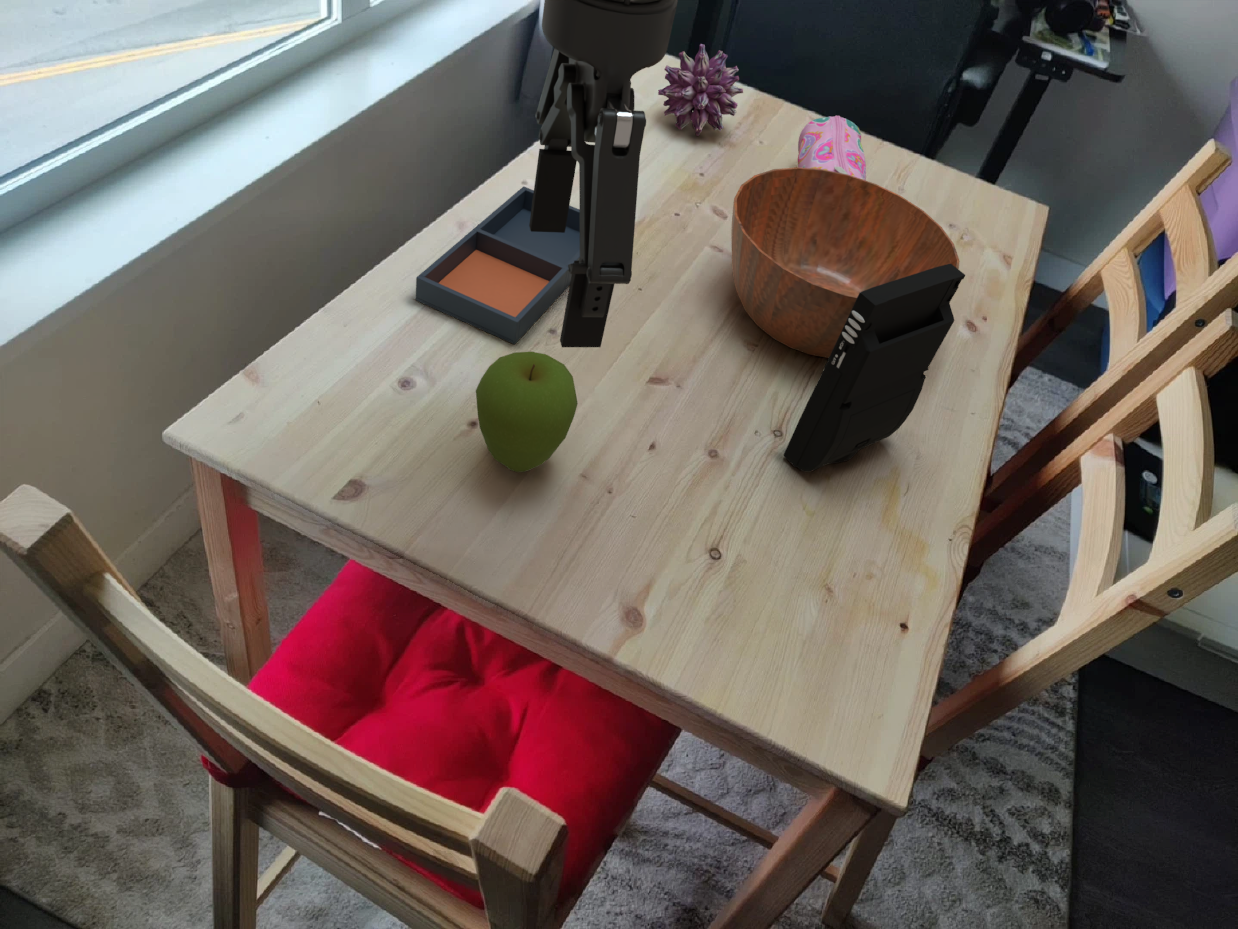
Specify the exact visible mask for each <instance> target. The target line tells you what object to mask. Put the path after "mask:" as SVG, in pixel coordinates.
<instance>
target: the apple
mask: <svg viewBox="0 0 1238 929" xmlns="http://www.w3.org/2000/svg"><path fill="white" fill-rule="evenodd" d="M475 397H476V398H475V399H476V409H477V419H478V425H479V430H480V432H481V434H482V437H483V440H484V442H485V445H486V447H487V450H488V453H489V454H490V455H491V456H492V458H493V459H494V460H495V461H497V462H498V463H500V464H501V465H503V466H505V467H506V468H507V469H509V470H510V471H512V472H514V473H515V472H516V473H525V472H528V471H530V470H533V469H534V468H537V467H539V466H541V465H543V464H544V463H545V462H547V461H548V460H549V459H550V458H551V456H552V455H553V454H554V453H555V452H556V450H557V449H558V448H559V447H560V446H561V444H562V443H563V442H564V440H565V439H566V438H567V435H568V433H569V431H570V428H571V426H572V422H573V420H574V417H575V415H576V412H577V411H576V410H577V408H578V404H579V403H578V398H577V392H576V387H575V381H574V376H573V375H572V373H571V372H570V370H569V369H568V368H567V366H566V365H565V364H564V363H562V362H561V361H559V360H558V359H556V358H554V357H552V356H550V355H548V354H546V353H541V352H535V351H517V352H516V351H515V352H512V353H509V354H506V355H503V356H500V357H498V358H497V359H496V360H495V361H494V362H493V363H491V364H490V365H489V366H488V368H487V369H486V370H485V372H484V374H483V375H482V376H481V377H480V380H479V383H478V385H477V387H476V389H475Z"/></svg>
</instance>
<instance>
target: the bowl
mask: <svg viewBox="0 0 1238 929" xmlns="http://www.w3.org/2000/svg"><path fill="white" fill-rule="evenodd" d="M731 214H732V215H731V228H730V229H731V232H730V233H731V234H730V236H731V238H730V241H731V242H730V243H731V244H730V245H731V246H730V247H731V248H730V249H731V269H732V278H733V283H734V286H735V290H736V293H737V295H738V298H739V300H740V302H741V305H742V307H743V309H744V311H745V312H746V314H747V315H748V316H749V317H750V319H751V320H752V321H753V322H754V323H755V325H756V326H757V327H758V328H760V330H762V331H763V332H765V333H766V334H767V335H768V336H769V337H771V339H774V340H776V341H777V342H778V343H781V344H783V345H785V346H786V347H788V348H790V349H793V350H795V351H798V352H801V353H804V354H807V355H809V356H815V357H819V358H820V357H821V358H826V359H829V357H830V355H831V353H832V350H833V348H834V346H835V344H836V342H837V340H838V338H839V335H840V333H841V331H842V329H843V327H844V325H845V323H846V321H847V318H848V316H849V314H850V312H851V310H852V308H853V306H854V303H855V301H856V299H857V297H858V295H859V293H860V292H862V291H865V290H867V289H870V288H872V287H875V286H878V285H882V284H885V283H888V282H891V281H894V280H897V279H900V278H904V277H907V276H910V275H913V274H916V273H919V272H922V271H925V270H929V269H932V268H935V267H938V266H942V265H946V264H952V265H953V266H955V267H956V268H957V269H958V270H960V262H961V261H960V258H959V254H958V252H957V248H956V245H955V244H954V242H953V241H952V239H951V238H950V236H949V235H948V234H947V232H946V231H945V229H944V228H943V226H941V225H940V224H939V223H938V222H937V221H935V219H933V218H932V217H931V215H929V214H928V213H927V212H926V211H925V210H923V209H922V208H920V207H918V206H917V205H915V204H914V203H912V202H911V201H909V200H908V199H907V198H905V197H904V196H901V195H900V194H898V193H895V192H893V191H892V190H889V189H887V188H885V187H883V186H881V185H879V184H877V183H875V182H872V181H868V180H867V179H866V180H863V179H860V178H857V177H854V176H851V175H847V174H843V173H838V172H833V171H828V170H824V169H813V168H800V167H798V166H795V167H794V166H793V167H784V168H774V169H773V168H772V169H770V170H767V171H764V172H760V173H757V174H754V175H753V176H752V177H750V178H749V179H747V180H746V181H745V182H743V183H742V184H741V185H740V186H739V188H738V190H737V193H735V196H734V198H733V204H732V213H731Z"/></svg>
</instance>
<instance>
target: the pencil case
mask: <svg viewBox="0 0 1238 929" xmlns="http://www.w3.org/2000/svg"><path fill="white" fill-rule="evenodd" d="M797 150H798V154H797V167H800V168H813V169H824V170H828V171H833V172H838V173H843V174H847V175H851V176H854V177H857V178H860V179H863V180H866V181H867V164H866V156H865V152H864V148H863V145H862V133H861V130H860V127H859V126H858V125H856V124H855V122H853V121H851V120H849V119H848V118H844V117H842V116H840V115H835V116H825V117H818V118H817V117H816V118H813V119H812V120H810V121H809V122H808V123H807V124H806V125H804V126H803V128H802V129H801V131H800V133H799V136H798V142H797Z"/></svg>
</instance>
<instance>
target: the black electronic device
mask: <svg viewBox="0 0 1238 929" xmlns="http://www.w3.org/2000/svg"><path fill="white" fill-rule="evenodd" d="M965 277H966V274H965V273H964V272H963V271H961V270H960V269H959V270H958V269H957V268H956V267H955V266H953V265H952V264H946V265H942V266H938V267H935V268H932V269H929V270H925V271H922V272H919V273H916V274H913V275H910V276H907V277H904V278H900V279H897V280H894V281H891V282H888V283H885V284H882V285H878V286H875V287H872V288H870V289H867V290H865V291H862V292H860V293H859V295H858V297H857V299H856V301H855V303H854V306H853V308H852V310H851V312H850V314H849V316H848V318H847V321H846V323H845V325H844V327H843V329H842V331H841V333H840V335H839V338H838V340H837V342H836V344H835V346H834V348H833V350H832V353H831V355H830V357H829V358H827V361H826V363H825V365H824V367H823V370H822V372H821V374H820V376H819V378H818V380H817V382H816V384H815V386H814V388H813V391H812V392H811V394H810V397H809V399H808V401H807V403H806V405H805V407H804V409H803V411H802V413H801V415H800V417H799V420H798V422H797V424H796V426H795V428H794V431H793V433H792V435H791V436H790V437H791V438H790V440H789V442H788V444H787V446H786V449H785V451H784V452H783V457H784V458H786V460H788V462H790V464H791V465H792V467H794V468H797V469H798V470H799V471H801V472H803V473H804V472H813V471H816V470H817V469H820V468H822V467H824V466H826V465H830V464H837V463H844V462H848V461H849V460H851V459H852V458H853V457H854V456H855V455H856V454H857V453H858V452H859V451H861V450H862V449H864V448H866V447H869V446H871V445H873V444H876V443H878V442H881V441H883V440H885V439H887V438H889V437H891V436H892V435H893V434H894V433H895V432H897V431H898V430H899V429H900V428H901V427H902V425H903V424H904V423H905V422H906V420H907V419H908V418H909V416H910V415H911V413H912V411H913V410H914V409H915V406H916V403H917V402H918V399H919V397H920V395H921V392H922V390H923V385H924V383H925V379H926V377H927V376H926V375H925V374H924V373H925V372H928V371H929V367H930V365H931V363H932V362H933V360H934V358H935V356H936V354H937V353H938V351H939V349H940V348H941V346H942V344H943V342H944V340H945V338H946V337H947V335H948V333H949V331H950V330H951V327H952V326H953V323H954V322H955V317H954V313H953V311H952V310H953V309H952V307H951V304H950V303H951V301H952V299H953V298H954V296H955V294H956V293H957V291H958V289H959V287H960V285H961V282H962V281H963V280H964V279H965Z"/></svg>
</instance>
